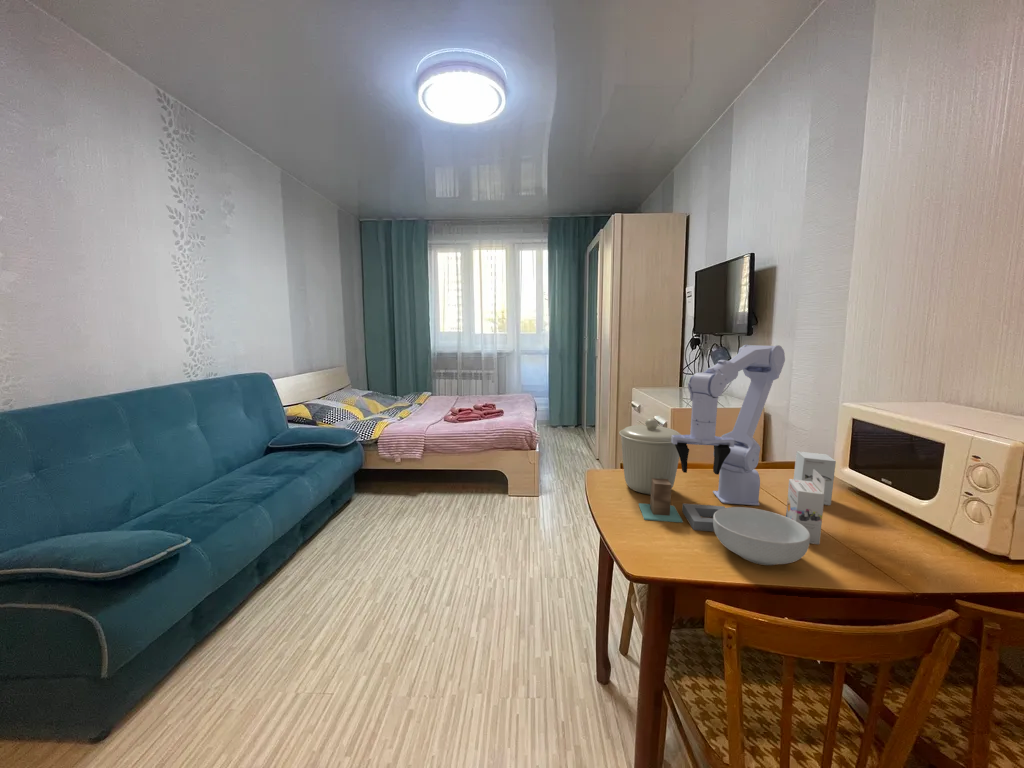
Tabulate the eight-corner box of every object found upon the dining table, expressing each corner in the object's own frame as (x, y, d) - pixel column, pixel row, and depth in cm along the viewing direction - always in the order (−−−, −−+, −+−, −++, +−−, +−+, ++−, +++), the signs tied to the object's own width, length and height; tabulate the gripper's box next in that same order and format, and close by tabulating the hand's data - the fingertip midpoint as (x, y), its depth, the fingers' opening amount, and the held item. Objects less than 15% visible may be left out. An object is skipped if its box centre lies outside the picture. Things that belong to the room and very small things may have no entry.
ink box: (783, 524, 97) (789, 465, 95) (808, 528, 95) (814, 468, 93) (793, 541, 89) (799, 477, 87) (820, 545, 87) (827, 480, 85)
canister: (672, 479, 127) (676, 414, 124) (689, 502, 109) (693, 427, 107) (614, 476, 129) (616, 412, 127) (620, 498, 112) (623, 424, 109)
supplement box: (798, 501, 110) (803, 457, 109) (791, 492, 117) (795, 450, 116) (831, 506, 108) (836, 460, 106) (822, 496, 114) (826, 453, 113)
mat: (673, 507, 106) (673, 505, 106) (682, 522, 97) (682, 521, 97) (638, 504, 108) (638, 503, 108) (644, 519, 99) (644, 518, 99)
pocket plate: (723, 514, 102) (724, 506, 102) (739, 533, 92) (740, 524, 92) (682, 511, 104) (682, 503, 103) (693, 529, 94) (693, 520, 94)
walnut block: (666, 508, 104) (667, 479, 103) (669, 515, 100) (671, 484, 99) (650, 507, 105) (651, 478, 104) (653, 514, 101) (654, 483, 100)
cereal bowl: (788, 541, 89) (791, 511, 88) (822, 586, 73) (826, 549, 72) (705, 530, 94) (707, 501, 93) (719, 569, 78) (722, 535, 77)
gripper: (677, 422, 98) (674, 475, 100) (740, 424, 96) (736, 479, 98) (670, 416, 105) (667, 466, 107) (729, 418, 103) (725, 470, 105)
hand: (700, 472), depth 103 cm, fingers open, 7 cm apart
